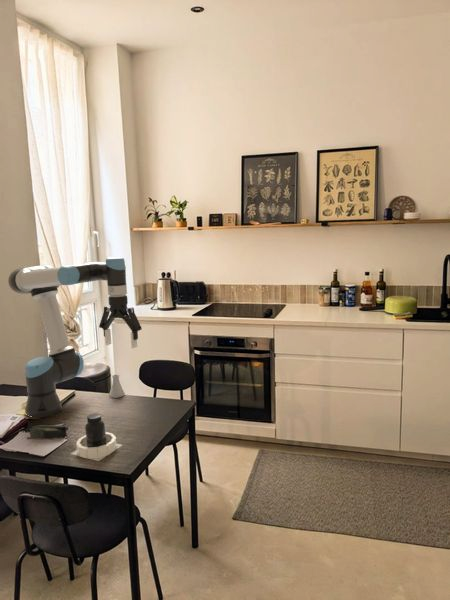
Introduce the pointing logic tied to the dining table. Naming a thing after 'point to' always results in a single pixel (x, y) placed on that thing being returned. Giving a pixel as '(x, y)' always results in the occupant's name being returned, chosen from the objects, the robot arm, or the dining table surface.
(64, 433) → the mobile phone
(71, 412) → the dining table surface
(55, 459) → the dining table surface
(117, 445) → the mat
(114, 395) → the flask
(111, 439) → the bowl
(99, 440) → the supplement bottle
